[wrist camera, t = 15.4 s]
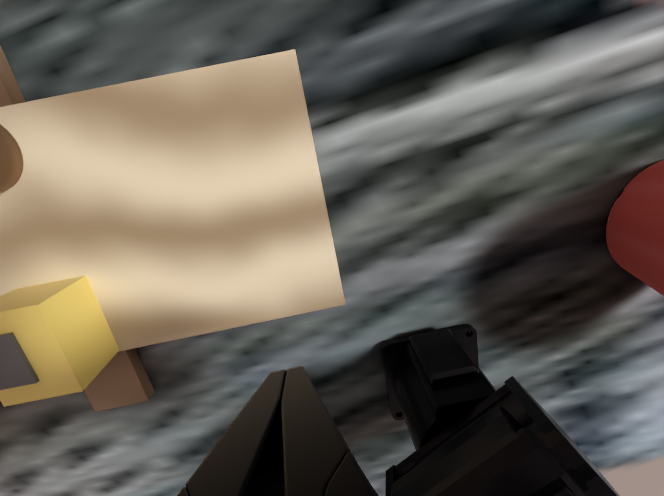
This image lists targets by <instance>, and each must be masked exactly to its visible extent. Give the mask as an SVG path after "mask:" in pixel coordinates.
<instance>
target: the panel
mask: <svg viewBox="0 0 664 496" xmlns="http://www.w3.org/2000/svg"><path fill="white" fill-rule="evenodd" d="M0 124H1V125H2V126H3V127H4V128H6V129H7V130H8V131H9V132H10V133H11V135H12V136H13V137H14V138H15V140H16V142H17V143H18V145H19V147H20V150H21V152H22V156H23V171H22V175H21V177H20V179H19V180H18V182H17V183H16V184H15V185H14V186H13V187H11V188H10V189H8V190H5V191H3V192H0V296H2V295H4V294H6V293H8V292H10V291H12V290H14V289H17V288H22V287H28V286H33V285H38V284H43V283H49V282H54V281H59V280H64V279H70V278H75V277H80V276H85V275H86V276H87V279H88V281H89V283H90V285H91V287H92V290H93V292H94V294H95V296H96V299H97V301H98V303H99V305H100V308H101V310H102V312H103V314H104V317H105V319H106V321H107V323H108V325H109V328H110V330H111V332H112V334H113V337H114V339H115V341H116V343H117V346H118V348H119V351H118V352H117V353H116V355H115V356H114V357H113V358H112V359H111V360H110V361H109V362H108V364H107V365H106V366H105V367H104V368H103V369H102V370H101V371H100V373H99V374H98V375H97V376H96V377H95V378H94V379H93V380H92V382H91V383H90V384H89V385H88V386H87V387H86V388H85V389H84V392H85V394H86V396H87V397H88V399H89V401H90V403H91V405H92V407H93V409H94V411H95V412H98V411H103V410H107V409H112V408H117V407H122V406H127V405H131V404H136V403H141V402H146V401H149V399H150V398H151V396H152V394H153V393H154V389H153V386H152V384H151V382H150V380H149V377H148V375H147V373H146V371H145V368H144V366H143V364H142V362H141V359H140V357H139V355H138V353H137V350H136V348H138V347H143V346H148V345H153V344H158V343H162V342H167V341H172V340H177V339H182V338H187V337H191V336H196V335H201V334H206V333H211V332H215V331H220V330H225V329H230V328H235V327H240V326H244V325H249V324H254V323H259V322H264V321H269V320H273V319H278V318H283V317H288V316H293V315H297V314H302V313H307V312H312V311H317V310H322V309H326V308H331V307H336V306H341V305H346V304H345V299H344V294H343V289H342V284H341V279H340V274H339V269H338V264H337V259H336V254H335V249H334V244H333V239H332V234H331V228H330V223H329V218H328V213H327V208H326V203H325V198H324V193H323V188H322V183H321V178H320V173H319V168H318V163H317V158H316V153H315V148H314V142H313V137H312V132H311V127H310V122H309V117H308V112H307V107H306V102H305V97H304V92H303V87H302V82H301V77H300V72H299V67H298V62H297V57H296V51H295V49H294V50H289V51H284V52H279V53H274V54H269V55H263V56H258V57H253V58H248V59H243V60H238V61H233V62H228V63H223V64H218V65H212V66H207V67H202V68H197V69H192V70H187V71H182V72H177V73H172V74H167V75H162V76H156V77H151V78H146V79H141V80H136V81H131V82H126V83H121V84H116V85H111V86H105V87H100V88H95V89H90V90H85V91H80V92H75V93H70V94H65V95H60V96H55V97H49V98H44V99H39V100H34V101H29V102H26V101H25V99H24V97H23V95H22V92H21V90H20V88H19V86H18V83H17V81H16V79H15V77H14V75H13V72H12V70H11V68H10V66H9V63H8V61H7V59H6V57H5V54H4V52H3V50H2V48H1V45H0Z"/></svg>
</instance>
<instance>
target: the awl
mask: <svg viewBox="0 0 664 496" xmlns="http://www.w3.org/2000/svg"><path fill="white" fill-rule="evenodd" d="M22 171H23V156H22V152H21V150H20V147H19V145H18V143H17V142H16V140H15V138H14V137H13V136H12V135H11V133H10V132H9V131H8V130H7V129H6V128H4V127H3V126H2V125H1V124H0V192H3V191H5V190H8V189H10V188H11V187H13V186H14V185H15V184H16V183H17V182H18V180H19V179H20V177H21V175H22Z"/></svg>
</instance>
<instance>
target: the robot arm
mask: <svg viewBox="0 0 664 496" xmlns="http://www.w3.org/2000/svg"><path fill="white" fill-rule="evenodd" d="M467 331H470V332H469V333H468V334H466V332H467ZM387 348H391V349H390V350H386V349H387ZM380 350H381V356H382V362H383V368H384V373H385V379H386V385H387V391H388V397H389V403H390V409H391V414H392V417H393V418H394V419H395V420H402V419H405V421H406V424H407V427H408V429H409V432H410V435H411V438H412V441H413V443H414V446H415V449H416V451H415V452H414V453H413V454H411V455H410V456H409V457H407V458H406V459H405V460H403V461H402V462H401V463H399V464H398V465H396V466H395V465H393V466H392V467H390V468H389V469H388V470H386V496H619V494H618V493H617V492H616V491H615V490H614V488H613V487H612V486H611V485H610V484H609V482H608V481H607V480H606V479H605V478H604V476H603V475H602V474H601V473H600V471H599V470H598V469H597V468H596V467H595V465H594V464H593V463H592V462H591V461H590V460H589V459H588V458H587V456H586V455H585V454H584V453H583V452H582V451H581V450H580V449H579V448H578V446H577V445H576V444H575V443H574V442H573V441H572V440H571V439H570V437H569V436H568V435H567V434H566V433H565V432H564V431H563V430H562V429H561V427H560V426H559V425H558V424H557V423H556V422H555V421H554V420H553V419H552V418H551V417H550V416H549V415H548V413H547V412H546V411H545V410H544V409H543V408H542V407H541V406H540V405H539V404H538V403H537V402H536V401H535V400H534V398H533V397H532V396H531V395H530V394H529V393H528V392H527V391H526V390H525V389H524V388H523V387H522V386H521V385H520V384H519V382H518V381H517V380H516V379H515V378H514V377H513V376H512V377H510V378H509V379H508V380H506V381H505V382H504V383H505V385H503V386H502V387H501V388H499V389H498V390H497V391H496V389H495V388H494V387H493V386H492V384H491V383H490V382H489V380H488V379H487V378H486V376H485V375H484V374H483V372H482V371H481V370H480V368H479V365H478V347H477V332H476V330H475V329H474V327H473V326H472V325H469V324H466V325H461V326H456V327H451V328H444V329H439V330H434V331H429V332H425V333H420V334H415V335H412V336H408V337H404V338H399V339H394V340H389V341H385V342H383V343H382V344H381V346H380ZM397 412H399V413H397ZM177 496H379V495H378V494H377V493H376V491H375V490H374V489H373V487H372V486H371V484H370V483H369V481H368V479H367V478H366V476H365V475H364V473H363V471H362V470H361V468H360V467H359V465H358V463H357V461H356V460H355V458H354V456H353V454H352V453H351V452H350V449H349V448H348V446H347V444H346V442H345V440H344V439H343V437H342V435H341V433H340V432H339V430H338V428H337V426H336V425H335V423H334V421H333V419H332V417H331V416H330V414H329V412H328V410H327V409H326V407H325V405H324V403H323V401H322V400H321V398H320V396H319V394H318V393H317V391H316V389H315V387H314V386H313V384H312V382H311V380H310V378H309V377H308V375H307V373H306V371H305V370H304V368H303V367H302V366H298V367H293V368H289V369H288V370H287V371H286V370H279V371H274V372H271V373H270V374H269V375H268V377H267V378H266V379H265V381H264V382H263V383H262V385H261V386H260V387H259V389H258V390H257V391H256V392H255V394H254V395H253V396H252V398H251V399H250V400H249V402H248V403H247V404H246V406H245V407H244V408H243V410H242V411H241V412H240V414H239V415H238V416H237V417H236V419H235V420H234V421H233V423H232V424H231V425H230V427H229V428H228V429H227V431H226V432H225V433H224V435H223V436H222V437H221V439H220V440H219V441H218V442H217V444H216V445H215V446H214V448H213V449H212V450H211V452H210V453H209V454H208V456H207V457H206V458H205V460H204V461H203V462H202V464H201V465H200V466H199V467H198V469H197V470H196V471H195V473H194V474H193V475H192V477H191V478H190V479H189V481H188V482H187V483H186V487H184V488H182V490H181V491H180V492H179V494H178V495H177Z"/></svg>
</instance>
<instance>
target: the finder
mask: <svg viewBox="0 0 664 496" xmlns="http://www.w3.org/2000/svg"><path fill="white" fill-rule="evenodd" d="M118 351H119V348H118V346H117V343H116V341H115V339H114V337H113V334H112V332H111V330H110V328H109V325H108V323H107V321H106V319H105V317H104V314H103V312H102V310H101V308H100V305H99V303H98V301H97V299H96V296H95V294H94V292H93V290H92V287H91V285H90V283H89V281H88V279H87V276H86V275H85V276H80V277H75V278H70V279H64V280H59V281H54V282H49V283H43V284H38V285H33V286H28V287H22V288H17V289H14V290H12V291H10V292H8V293H6V294H4V295H2V296H0V401H1V403H2V404H3V406H4V407H6V406H11V405H16V404H21V403H26V402H31V401H36V400H41V399H46V398H51V397H56V396H62V395H67V394H72V393H77V392H82V391H84V389H85V388H86V387H87V386H88V385H89V384H90V383H91V382H92V380H93V379H94V378H95V377H96V376H97V375H98V374H99V373H100V371H101V370H102V369H103V368H104V367H105V366H106V365H107V364H108V362H109V361H110V360H111V359H112V358H113V357H114V356H115V355H116V353H117V352H118Z"/></svg>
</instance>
